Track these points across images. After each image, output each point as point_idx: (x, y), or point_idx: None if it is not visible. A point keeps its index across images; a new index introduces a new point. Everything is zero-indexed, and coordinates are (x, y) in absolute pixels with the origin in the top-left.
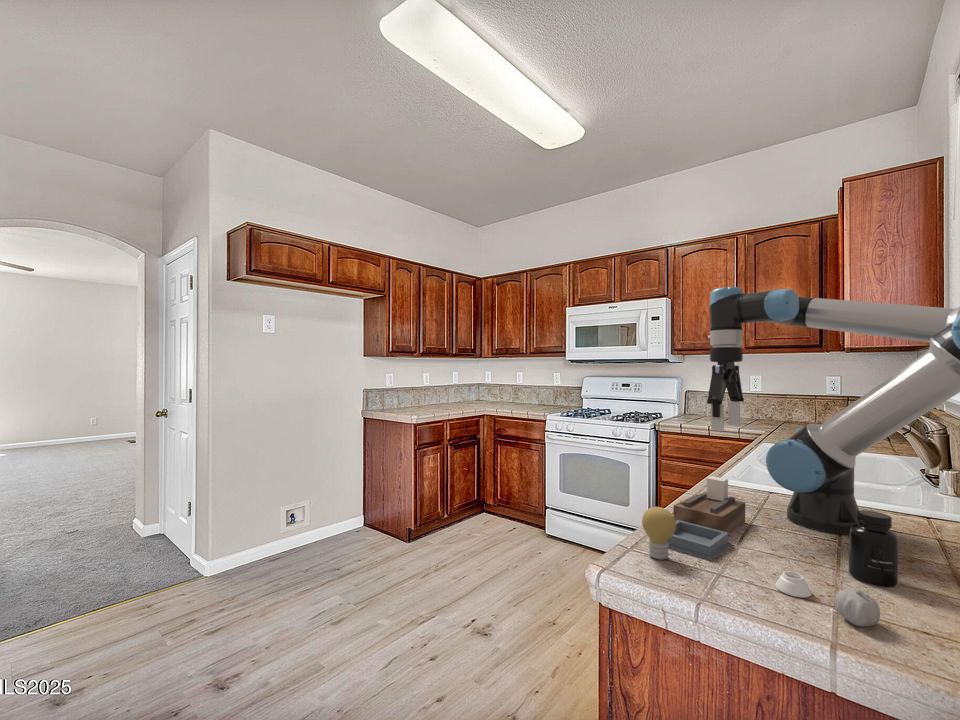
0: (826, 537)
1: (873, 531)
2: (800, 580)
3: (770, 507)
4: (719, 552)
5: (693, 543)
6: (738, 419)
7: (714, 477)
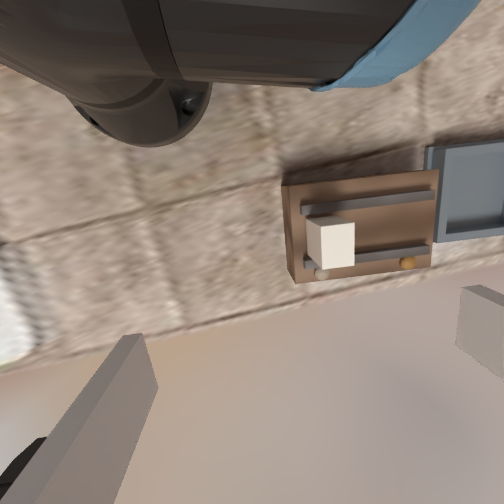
0: None
1: None
2: None
3: (127, 196)
4: (488, 140)
5: None
6: (123, 370)
7: (330, 257)
